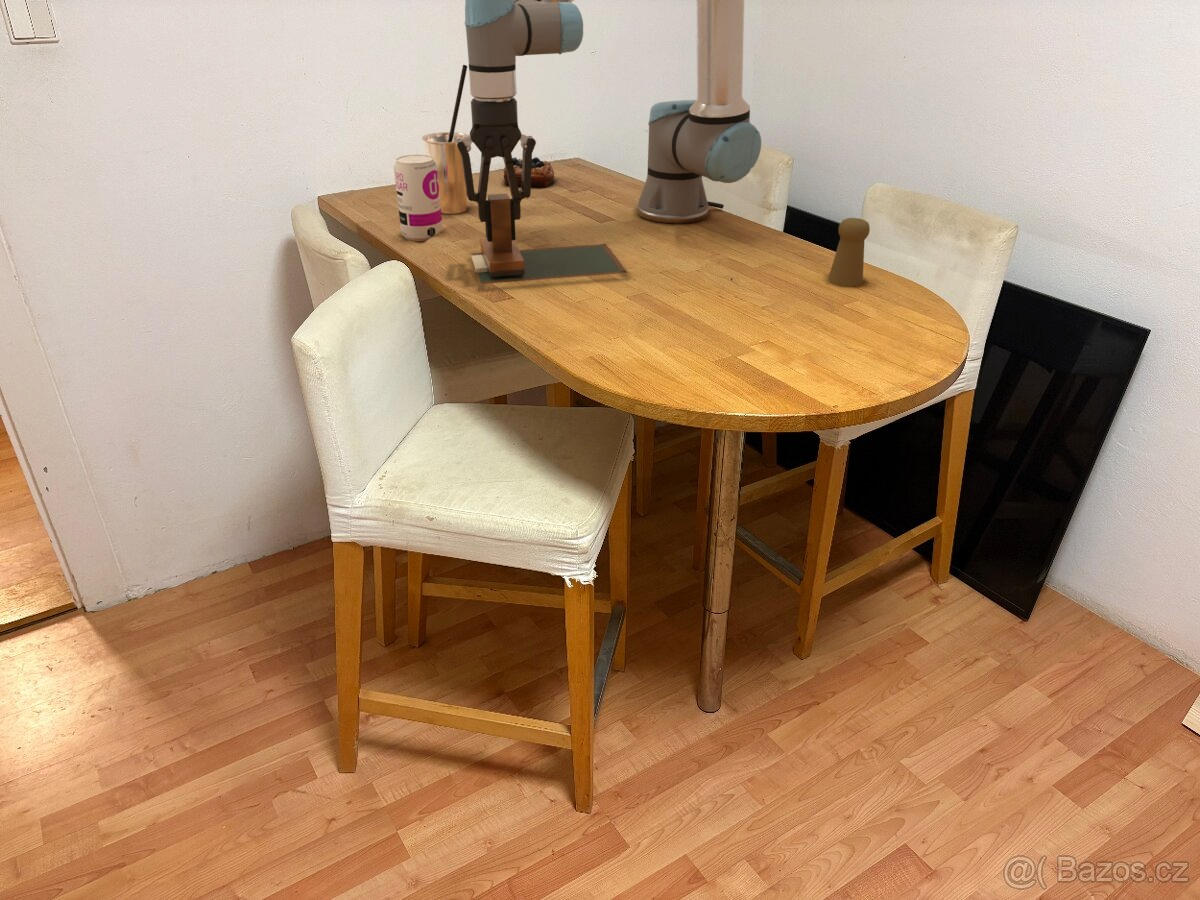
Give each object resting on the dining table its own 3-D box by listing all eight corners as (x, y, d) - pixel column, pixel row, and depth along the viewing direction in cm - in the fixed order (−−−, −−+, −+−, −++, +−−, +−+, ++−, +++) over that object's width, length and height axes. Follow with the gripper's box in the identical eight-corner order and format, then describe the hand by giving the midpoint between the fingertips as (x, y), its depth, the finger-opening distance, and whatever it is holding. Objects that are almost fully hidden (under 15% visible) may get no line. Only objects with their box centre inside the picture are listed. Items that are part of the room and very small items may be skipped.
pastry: (509, 175, 214) (508, 150, 211) (557, 176, 213) (556, 152, 210) (500, 186, 205) (499, 161, 202) (550, 188, 204) (550, 163, 201)
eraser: (513, 250, 161) (510, 185, 155) (524, 274, 151) (522, 206, 144) (481, 252, 160) (476, 187, 154) (490, 277, 149) (486, 208, 143)
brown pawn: (864, 276, 156) (875, 216, 150) (861, 288, 151) (872, 226, 145) (830, 272, 158) (839, 212, 152) (826, 284, 153) (836, 222, 147)
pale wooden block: (471, 259, 158) (471, 255, 158) (482, 258, 159) (482, 254, 158) (476, 272, 152) (475, 268, 152) (487, 271, 153) (487, 267, 152)
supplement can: (450, 232, 175) (444, 156, 167) (427, 244, 169) (419, 166, 161) (417, 227, 178) (409, 152, 170) (393, 238, 172) (384, 161, 164)
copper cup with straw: (476, 218, 183) (466, 65, 168) (424, 217, 184) (409, 64, 168) (483, 203, 193) (474, 57, 177) (433, 202, 193) (420, 56, 177)
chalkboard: (605, 249, 167) (605, 243, 167) (627, 278, 154) (627, 272, 153) (471, 259, 162) (470, 253, 161) (482, 290, 149) (481, 283, 148)
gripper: (539, 92, 145) (542, 229, 158) (440, 95, 142) (451, 235, 154) (547, 100, 139) (550, 242, 151) (444, 103, 136) (456, 248, 148)
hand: (500, 238), depth 153 cm, fingers closed on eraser, 3 cm apart
